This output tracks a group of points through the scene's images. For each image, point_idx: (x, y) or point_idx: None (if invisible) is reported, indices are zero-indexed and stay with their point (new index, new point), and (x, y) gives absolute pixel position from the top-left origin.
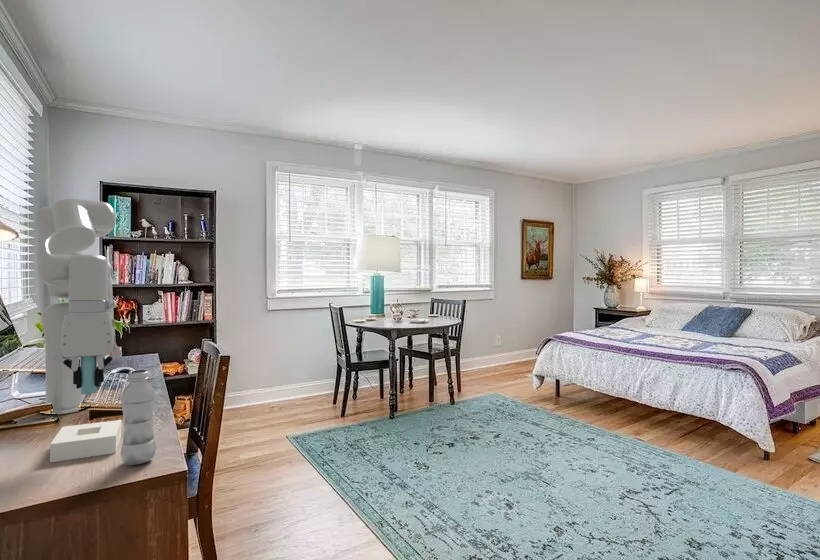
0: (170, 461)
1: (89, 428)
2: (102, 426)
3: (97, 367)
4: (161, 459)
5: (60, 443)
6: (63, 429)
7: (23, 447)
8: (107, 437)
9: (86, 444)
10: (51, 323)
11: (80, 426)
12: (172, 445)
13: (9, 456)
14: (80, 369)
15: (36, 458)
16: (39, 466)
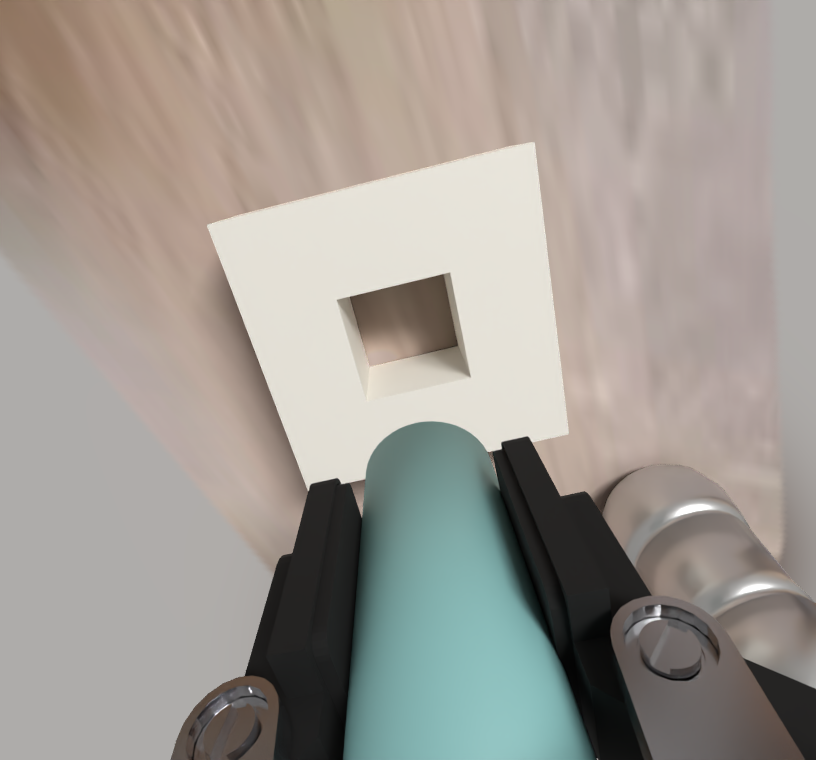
0: (751, 506)
1: (389, 286)
2: (454, 267)
3: (608, 752)
4: (721, 485)
5: (347, 482)
6: (244, 281)
7: (66, 237)
8: (532, 439)
9: None
10: None
11: (319, 242)
12: (766, 351)
13: (94, 349)
14: (336, 726)
15: (234, 393)
16: (299, 472)
